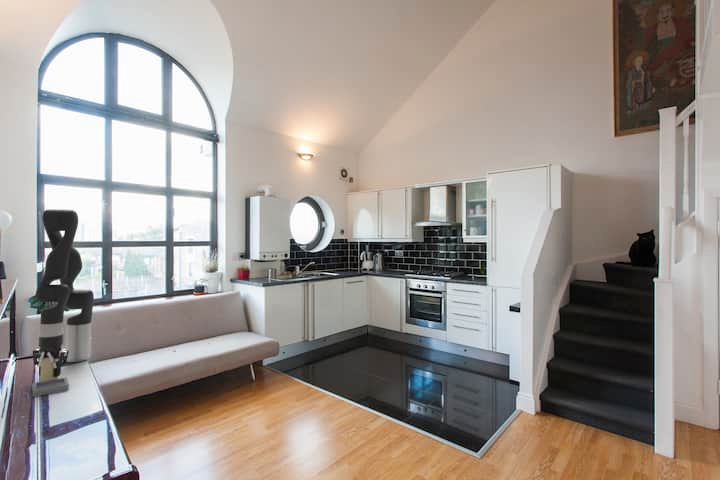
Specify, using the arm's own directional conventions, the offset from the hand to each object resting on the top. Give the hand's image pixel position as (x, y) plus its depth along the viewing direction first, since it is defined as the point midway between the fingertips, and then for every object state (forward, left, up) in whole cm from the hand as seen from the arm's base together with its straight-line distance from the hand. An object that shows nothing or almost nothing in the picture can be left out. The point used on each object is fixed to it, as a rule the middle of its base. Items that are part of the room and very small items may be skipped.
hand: (49, 376), depth 143 cm
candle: (0, 0, -2) cm, 2 cm away
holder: (+7, +8, -2) cm, 11 cm away
